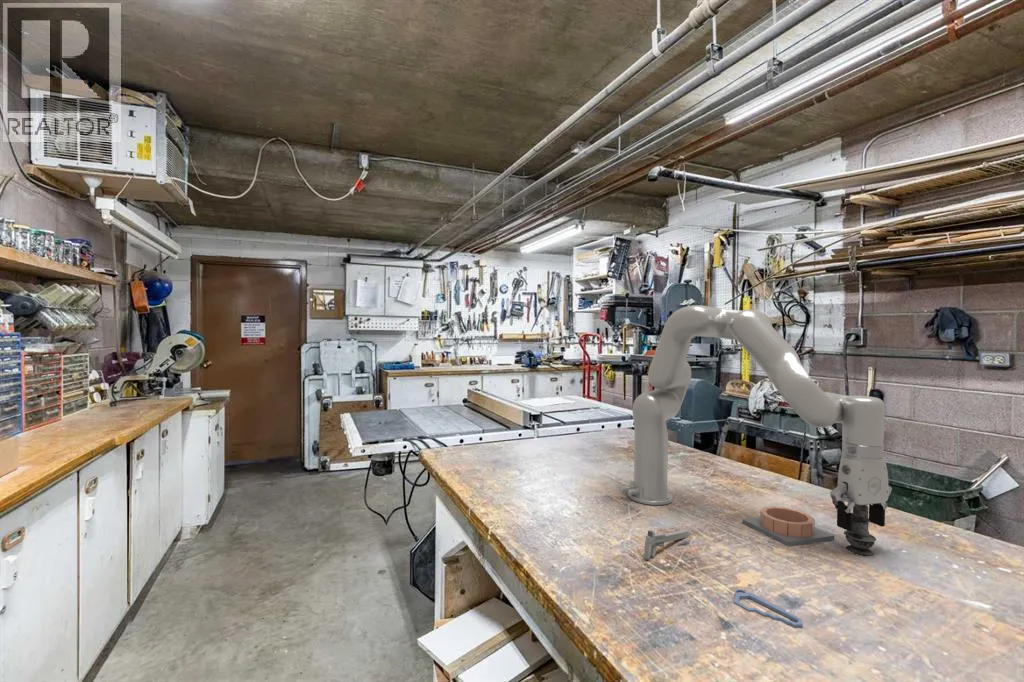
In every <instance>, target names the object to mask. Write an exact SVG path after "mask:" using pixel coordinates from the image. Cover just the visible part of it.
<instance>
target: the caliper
mask: <svg viewBox="0 0 1024 682" xmlns="http://www.w3.org/2000/svg"><path fill="white" fill-rule="evenodd" d="M691 535H692V533H691V532H690V531H689V530H686V529H683V530H677V531H674V532H667V533H663V532H658V533H656V530H653V529H651V530H647V535H646V536H645V539H644V540H645V542H644V551H643V553H644V555H643V557H644V560H646V561H648V562H649V561H650V560H653V559H655V554H656V551H657V547H659V548H661V547H665V543H669V542H673V541H678V540H682V539H683V540H684V539H686V538H687V537H689V536H691Z"/></svg>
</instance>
